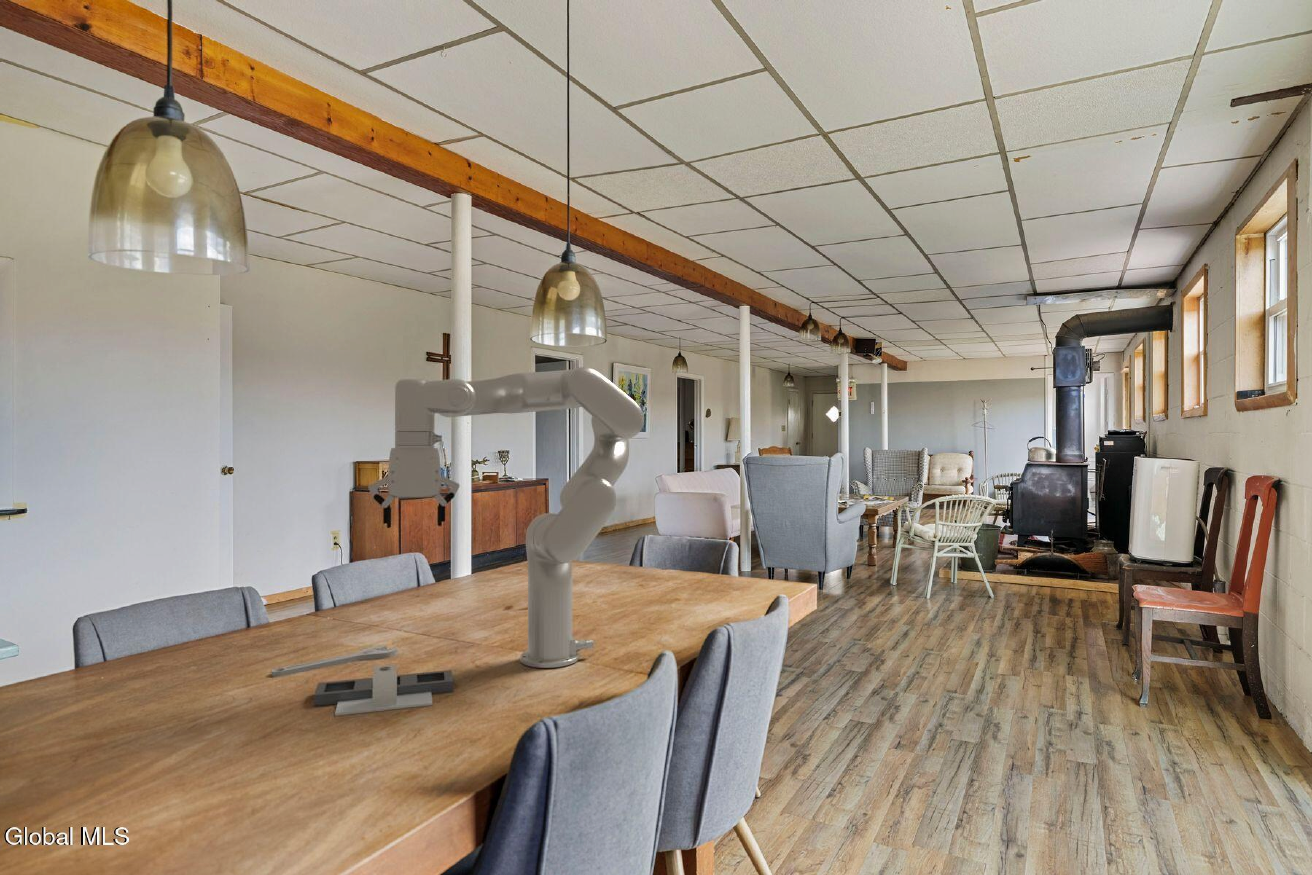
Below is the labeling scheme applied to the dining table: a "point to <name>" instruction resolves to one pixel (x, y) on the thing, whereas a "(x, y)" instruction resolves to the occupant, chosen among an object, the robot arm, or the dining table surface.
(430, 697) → the mat
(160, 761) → the dining table surface
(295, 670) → the adjustable wrench
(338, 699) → the rail
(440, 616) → the dining table surface
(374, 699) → the grey post with hole
